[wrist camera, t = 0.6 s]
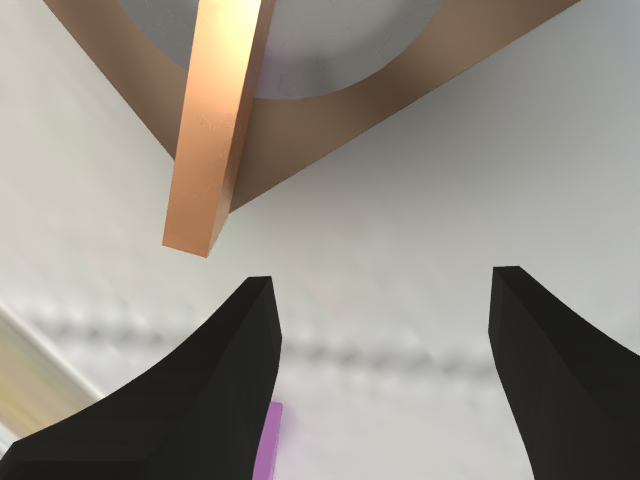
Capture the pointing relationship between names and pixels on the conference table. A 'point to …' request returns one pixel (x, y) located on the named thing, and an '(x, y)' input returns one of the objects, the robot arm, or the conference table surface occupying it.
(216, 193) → the dial
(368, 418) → the conference table surface
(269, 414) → the bracket
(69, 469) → the robot arm
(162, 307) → the conference table surface
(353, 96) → the stand
